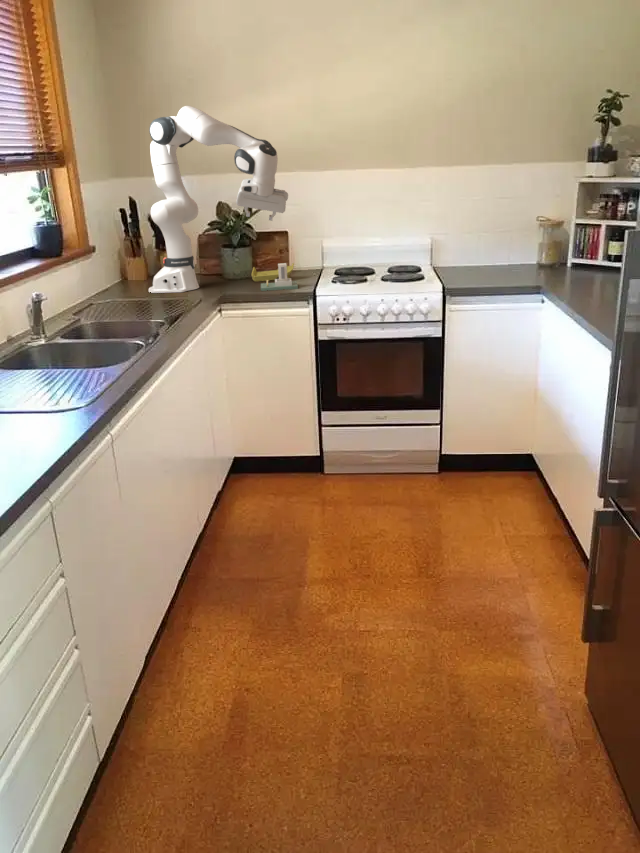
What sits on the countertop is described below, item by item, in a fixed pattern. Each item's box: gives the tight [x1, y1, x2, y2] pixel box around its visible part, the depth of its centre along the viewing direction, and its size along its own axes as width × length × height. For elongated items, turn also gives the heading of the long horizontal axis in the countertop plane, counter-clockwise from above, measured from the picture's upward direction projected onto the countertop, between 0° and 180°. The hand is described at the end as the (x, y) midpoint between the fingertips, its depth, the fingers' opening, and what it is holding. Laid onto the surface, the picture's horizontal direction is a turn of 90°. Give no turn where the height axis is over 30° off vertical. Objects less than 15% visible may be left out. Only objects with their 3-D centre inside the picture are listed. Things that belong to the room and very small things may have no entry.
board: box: [260, 277, 299, 292], centre depth 323 cm, size 16×12×3 cm
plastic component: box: [251, 262, 295, 282], centre depth 343 cm, size 20×7×10 cm
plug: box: [277, 262, 288, 281], centre depth 321 cm, size 4×4×9 cm
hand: (259, 218), depth 303 cm, fingers open, 8 cm apart
